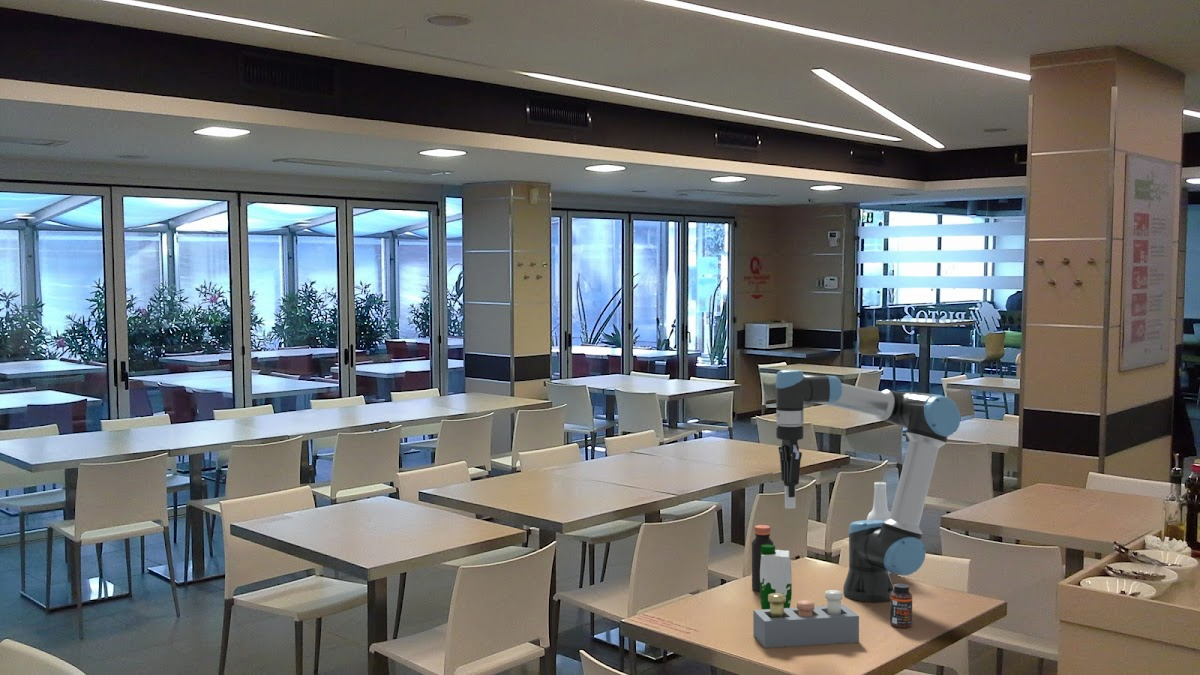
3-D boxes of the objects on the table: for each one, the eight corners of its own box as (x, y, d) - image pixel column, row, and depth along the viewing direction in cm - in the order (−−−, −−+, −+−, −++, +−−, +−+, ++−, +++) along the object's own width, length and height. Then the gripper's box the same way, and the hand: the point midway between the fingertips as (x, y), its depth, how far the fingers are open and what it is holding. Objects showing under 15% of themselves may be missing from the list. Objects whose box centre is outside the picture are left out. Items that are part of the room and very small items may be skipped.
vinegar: (751, 591, 315) (750, 528, 314) (752, 586, 321) (752, 523, 321) (773, 593, 313) (772, 529, 312) (774, 587, 320) (773, 524, 319)
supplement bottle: (896, 629, 277) (896, 588, 277) (886, 622, 283) (886, 583, 283) (916, 628, 278) (916, 587, 278) (905, 621, 284) (905, 581, 284)
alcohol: (878, 576, 331) (878, 486, 330) (861, 570, 339) (861, 481, 338) (899, 573, 334) (899, 483, 334) (881, 567, 342) (881, 479, 341)
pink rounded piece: (810, 626, 273) (810, 599, 273) (816, 632, 268) (816, 604, 268) (794, 627, 272) (794, 600, 272) (800, 633, 268) (800, 605, 267)
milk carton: (760, 608, 297) (760, 541, 296) (791, 610, 295) (791, 542, 295) (759, 618, 288) (759, 549, 288) (791, 619, 287) (791, 550, 286)
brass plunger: (782, 619, 272) (782, 592, 271) (788, 624, 267) (787, 597, 267) (766, 620, 271) (765, 593, 271) (771, 625, 266) (771, 598, 266)
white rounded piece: (838, 616, 274) (838, 589, 274) (845, 621, 269) (845, 594, 269) (822, 617, 273) (822, 590, 273) (829, 622, 269) (828, 595, 268)
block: (844, 629, 277) (844, 604, 277) (859, 641, 267) (859, 615, 267) (753, 635, 273) (753, 610, 273) (764, 647, 263) (764, 621, 263)
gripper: (769, 422, 289) (770, 504, 290) (784, 428, 276) (784, 513, 277) (794, 421, 290) (795, 503, 291) (810, 427, 277) (811, 512, 278)
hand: (790, 507), depth 284 cm, fingers closed
